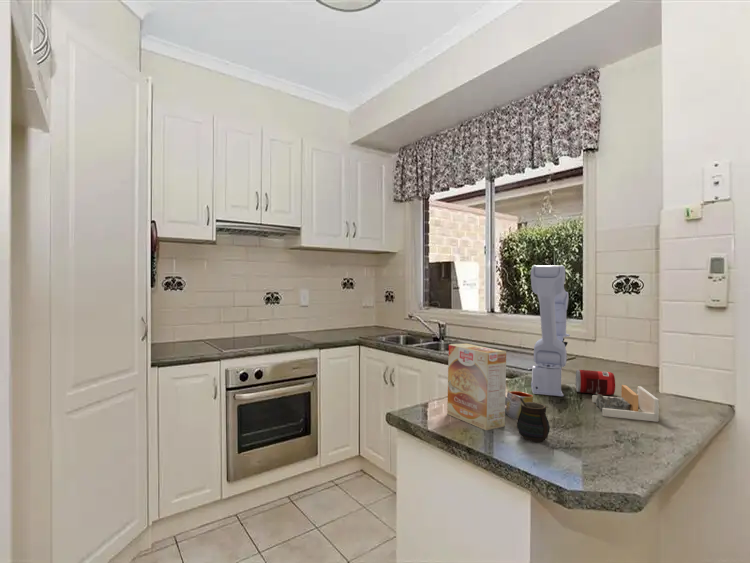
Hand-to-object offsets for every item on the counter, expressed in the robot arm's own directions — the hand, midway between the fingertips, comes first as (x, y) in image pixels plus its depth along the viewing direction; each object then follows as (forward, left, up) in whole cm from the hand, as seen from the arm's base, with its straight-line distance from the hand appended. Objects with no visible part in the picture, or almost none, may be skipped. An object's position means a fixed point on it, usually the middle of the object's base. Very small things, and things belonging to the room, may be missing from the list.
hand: (557, 358), depth 156 cm
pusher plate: (+16, -30, -9) cm, 35 cm away
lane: (+15, -30, -9) cm, 35 cm away
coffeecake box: (-26, -55, -10) cm, 62 cm away
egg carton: (+12, -30, -10) cm, 34 cm away
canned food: (+17, -11, -6) cm, 20 cm away
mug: (-17, -47, -10) cm, 51 cm away
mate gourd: (-12, -64, -10) cm, 66 cm away
